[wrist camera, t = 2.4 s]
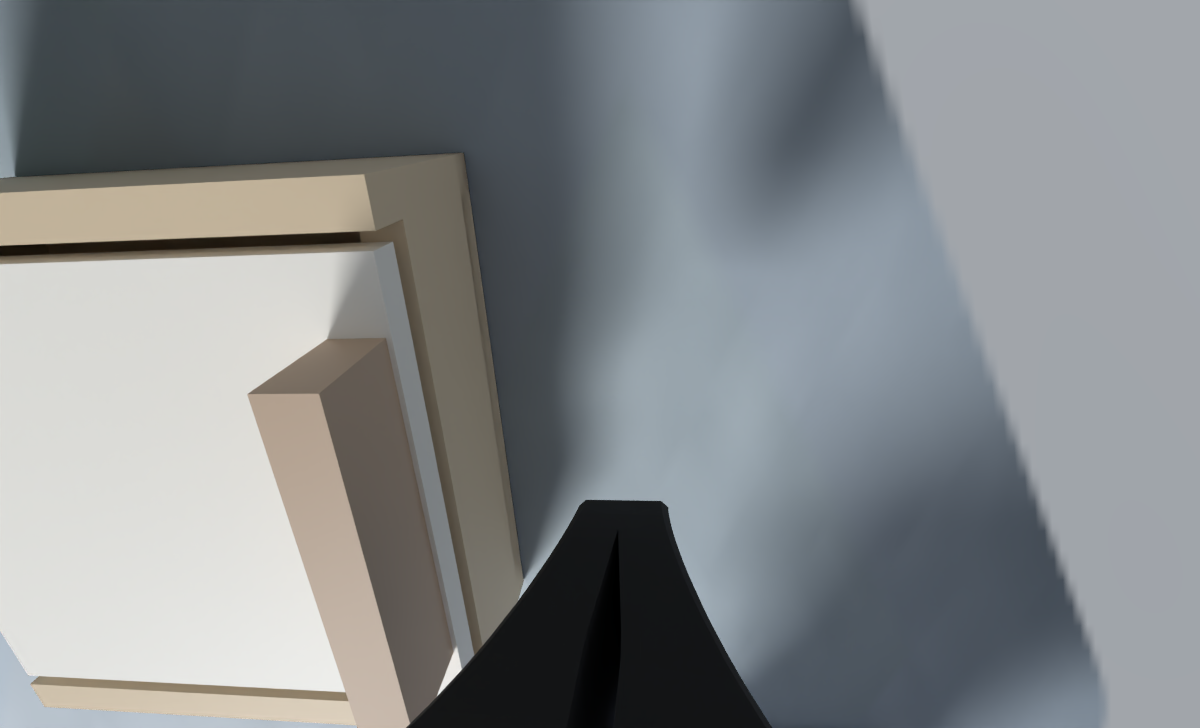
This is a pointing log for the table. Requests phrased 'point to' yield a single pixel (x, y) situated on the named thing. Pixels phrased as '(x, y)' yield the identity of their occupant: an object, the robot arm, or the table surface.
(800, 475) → the table surface
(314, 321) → the lid
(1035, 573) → the table surface
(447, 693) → the robot arm
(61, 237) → the box
